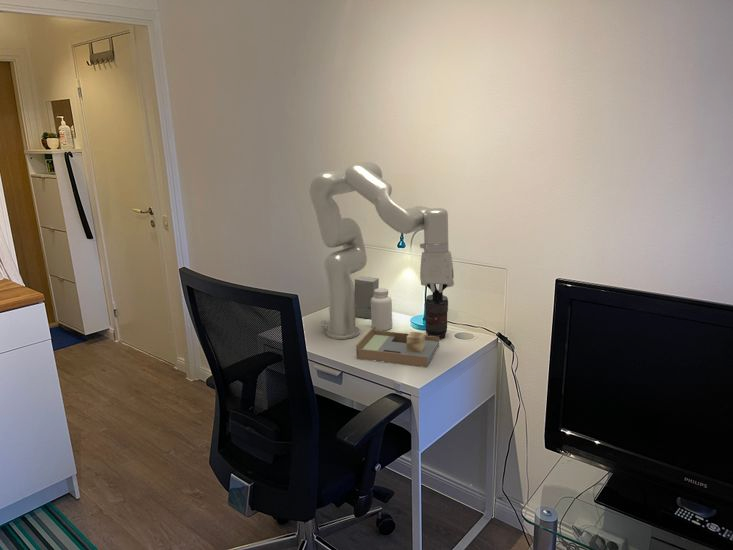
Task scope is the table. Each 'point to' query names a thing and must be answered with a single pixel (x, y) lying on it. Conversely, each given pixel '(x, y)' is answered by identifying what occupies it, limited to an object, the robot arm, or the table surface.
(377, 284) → the skincare box
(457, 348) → the table surface
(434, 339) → the box
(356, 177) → the robot arm
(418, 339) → the block
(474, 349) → the table surface
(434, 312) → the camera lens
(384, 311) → the pill bottle
